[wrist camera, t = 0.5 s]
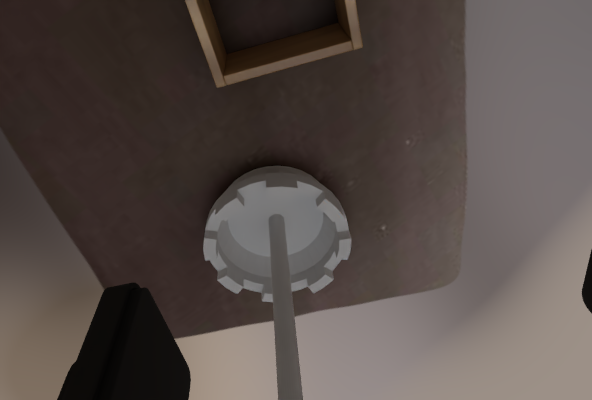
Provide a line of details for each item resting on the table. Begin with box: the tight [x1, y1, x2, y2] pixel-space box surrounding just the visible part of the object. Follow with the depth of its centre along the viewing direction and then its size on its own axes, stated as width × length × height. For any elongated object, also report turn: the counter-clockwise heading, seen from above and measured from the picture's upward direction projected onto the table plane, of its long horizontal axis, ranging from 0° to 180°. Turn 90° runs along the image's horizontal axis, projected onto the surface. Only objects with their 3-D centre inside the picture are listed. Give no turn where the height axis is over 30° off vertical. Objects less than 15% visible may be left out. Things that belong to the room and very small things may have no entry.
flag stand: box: [203, 166, 351, 400], centre depth 31 cm, size 13×13×30 cm
